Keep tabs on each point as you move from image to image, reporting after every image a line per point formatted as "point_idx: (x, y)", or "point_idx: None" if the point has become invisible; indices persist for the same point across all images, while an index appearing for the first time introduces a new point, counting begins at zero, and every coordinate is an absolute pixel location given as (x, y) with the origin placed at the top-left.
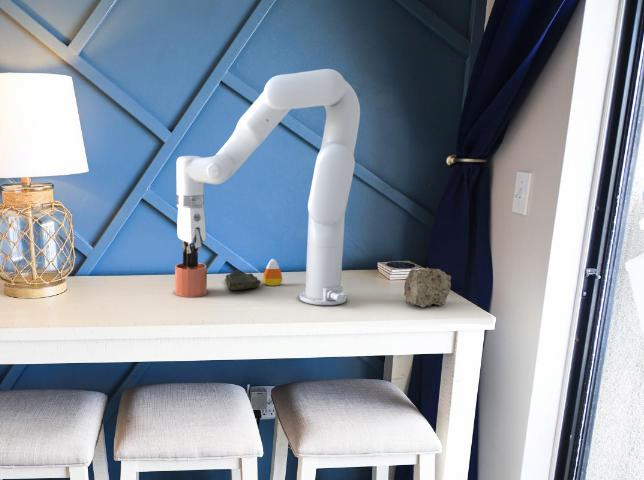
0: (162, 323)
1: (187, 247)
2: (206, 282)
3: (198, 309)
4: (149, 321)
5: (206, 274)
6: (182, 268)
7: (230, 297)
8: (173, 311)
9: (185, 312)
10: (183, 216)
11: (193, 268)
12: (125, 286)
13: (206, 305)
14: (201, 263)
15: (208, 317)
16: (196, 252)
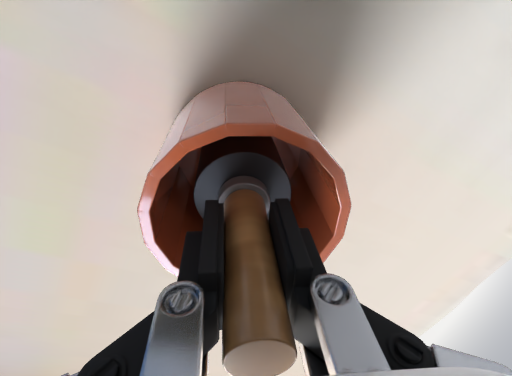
0: (447, 301)
1: (267, 373)
2: (293, 109)
3: (429, 204)
4: (415, 316)
5: (305, 124)
6: (162, 221)
7: (400, 15)
8: (393, 263)
9: (423, 242)
10: None
11: (261, 204)
12: (66, 302)
13: (416, 166)
14: (208, 134)
15: (507, 208)
16: (343, 295)
